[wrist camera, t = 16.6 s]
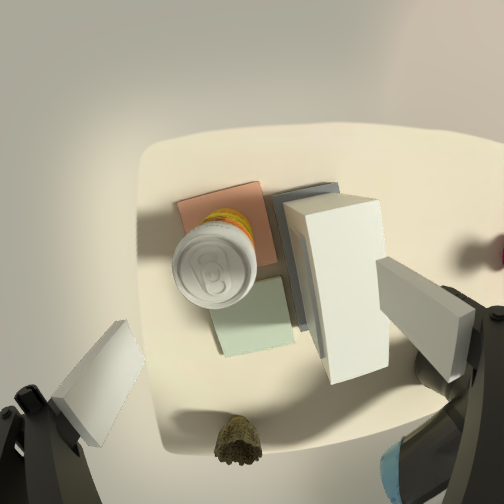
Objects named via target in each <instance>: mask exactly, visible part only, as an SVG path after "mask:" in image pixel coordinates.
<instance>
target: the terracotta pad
mask: <svg viewBox="0 0 504 504" xmlns="http://www.w3.org/2000/svg"><path fill="white" fill-rule="evenodd" d="M177 204H178V208H179V212H180V216H181V219H182V223H183V227H184V230H185V234H188V233H189V232H190V231H191V230H192V229H193V228H194V227H195V226H197V225H198V224H199V223H200V222H201V221H202V220H203V219H205V218H206V217H207V216H208V215H209V214H210V213H212V212H213V211H215V210H218V209H223V208H230V209H234V210H237V211H239V212H241V213H242V214H243V215H244V216H245V217H246V218H247V219H248V220H249V222H250V224H251V227H252V232H253V240H254V247H255V255H256V263H257V267H261V266H265V265H269V264H273V263H278V260H277V256H276V251H275V247H274V242H273V238H272V233H271V229H270V225H269V220H268V216H267V212H266V207H265V203H264V199H263V195H262V190H261V186H260V182H259V181H258V182H254V183H250V184H245V185H241V186H237V187H233V188H229V189H225V190H221V191H217V192H213V193H210V194H206V195H202V196H198V197H195V198H191V199H188V200H184V201H181V202H177Z"/></svg>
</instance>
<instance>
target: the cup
mask: <svg viewBox="0 0 504 504" xmlns="http://www.w3.org/2000/svg"><path fill="white" fill-rule="evenodd" d="M214 453H215V457H217V456H218V459H219V461H220V462H226V463H227V464H228V465H230V464H231V463H232V461H234V462H239V465H241V466H242V465H244V463H245V464H248V465H251V464H252V463H253V462H254V460H256V461H258V460H259V457H260V458H261V457H262V450H261V445H260V440H259V436H258V433H257V431H256V429H255V428H254V427H253V426H252V425H251V424H250V423H249V421H248V420H247V419H246V418H245V417H242V416H235V417H232V418H231V419H230V420H229V422H228V423H227V424H225V425H224V426H223V427H222V429H221V430H220V432H219V435H218V439H217V442H216V446H215V450H214Z"/></svg>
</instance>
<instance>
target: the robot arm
mask: <svg viewBox="0 0 504 504" xmlns="http://www.w3.org/2000/svg"><path fill="white" fill-rule="evenodd" d="M376 269H377V279H378V290H379V302H380V310H381V311H382V312H383V313H384V314H385V315H386V316H387V317H388V318H389V319H390V320H391V321H392V322H393V323H394V324H395V325H396V326H397V327H398V328H399V329H400V330H401V331H402V333H403V334H404V335H405V336H406V337H407V338H408V339H409V340H410V341H411V342H412V343H413V344H414V345H415V346H416V348H417V349H418V350H419V353H418V355H417V358H416V362H415V374H416V376H417V378H418V379H419V380H420V382H421V383H422V384H423V385H424V386H425V387H428V388H430V389H432V390H434V391H436V392H437V393H439V394H441V395H443V396H445V397H446V399H447V400H448V401H449V403H447V404H446V405H445V406H444V407H443V408H442V409H440V410H439V411H438V412H437V413H436V414H434V415H433V416H432V417H431V418H429V419H428V420H427V421H426V422H424V423H423V424H422V425H420V426H419V427H418V428H416V429H415V430H414V431H412V432H411V433H410V434H408V435H407V436H403V437H402V438H401V439H400V440H399V441H398V442H397V443H395V444H394V445H393V446H391V447H390V448H388V449H387V450H386V451H385V452H384V453H383V455H382V457H381V461H380V473H381V479H382V483H383V486H384V489H385V492H386V494H387V497H388V498H389V499H390V501H391V503H392V504H504V306H491V307H489V308H485V307H484V306H482V305H480V304H479V303H477V302H476V301H474V300H472V299H471V298H469V297H468V298H467V296H466V295H464V294H463V293H462V294H461V292H459V291H458V290H456V289H454V288H451V287H447V286H438V285H437V284H435V283H433V282H432V281H430V280H428V279H427V278H425V277H423V276H422V275H420V274H418V273H417V272H415V271H413V270H411V269H410V268H408V267H406V266H404V265H403V264H401V263H399V262H397V261H396V260H394V259H392V258H390V257H389V256H388V257H385V258H382V259H378V260H376ZM145 362H146V361H145V359H144V357H143V355H142V353H141V351H140V349H139V347H138V344H137V342H136V340H135V338H134V336H133V333H132V331H131V329H130V327H129V324H128V322H127V320H121V321H115V322H114V323H113V325H112V326H111V327H110V328H109V329H108V330H107V331H106V332H105V333H104V335H103V336H102V337H101V338H100V339H99V340H98V341H97V343H96V344H95V345H94V346H93V347H92V348H91V349H90V350H89V352H88V353H87V354H86V355H85V356H84V357H83V359H82V360H81V361H80V362H79V363H78V364H77V366H76V367H75V368H74V369H73V370H72V372H71V373H70V374H69V375H68V376H67V378H66V379H65V380H64V381H63V383H62V384H61V385H60V386H59V387H58V389H57V390H56V391H55V392H54V394H53V395H52V396H51V399H50V400H49V401H48V402H47V401H46V400H45V398H44V397H43V395H42V394H41V392H40V391H39V389H38V387H37V386H36V385H28V386H25V387H23V388H22V389H21V390H19V391H18V392H17V394H16V395H15V397H14V399H15V400H16V402H17V403H18V405H19V406H20V407H21V409H22V410H23V411H24V413H25V414H22V415H21V414H20V413H19V411H18V410H17V409H16V407H14V406H9V407H5V408H3V409H2V411H1V412H0V504H102V502H101V500H100V497H99V495H98V492H97V490H96V487H95V484H94V482H93V479H92V476H91V474H90V471H89V468H88V465H87V462H86V458H85V455H84V452H83V448H82V446H81V445H80V444H79V442H78V439H79V438H80V436H81V438H82V439H83V440H84V441H85V442H86V443H87V445H88V446H94V447H102V446H103V444H104V442H105V439H106V437H107V435H108V433H109V431H110V429H111V427H112V425H113V423H114V421H115V419H116V417H117V415H118V413H119V412H120V410H121V408H122V406H123V404H124V402H125V400H126V398H127V396H128V394H129V392H130V390H131V388H132V386H133V385H134V383H135V381H136V379H137V377H138V375H139V373H140V372H141V370H142V368H143V366H144V364H145ZM15 443H16V444H17V445H18V447H19V448H20V449H21V450H22V451H23V452H24V456H21V455H20V454H19V453H18V452H17V450H16V449H15Z"/></svg>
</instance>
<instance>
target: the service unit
mask: <svg viewBox="0 0 504 504" xmlns="http://www.w3.org/2000/svg"><path fill="white" fill-rule="evenodd" d="M271 198H272V202H273V206H274V211H275V215H276V220H277V224H278V228H279V233H280V238H281V242H282V247H283V251H284V256H285V261H286V265H287V270H288V275H289V280H290V285H291V290H292V295H293V300H294V305H295V310H296V315H297V320H298V325H299V329H300V332H303V331H307V330H309V331H310V334H311V336H312V339H313V341H314V344H315V346H316V349H317V351H318V354H319V356H320V359H321V360H322V363H323V365H324V368H325V370H326V373H327V375H328V378H329V381H330V383H331V385H333V384H336V383H340V382H343V381H346V380H349V379H353V378H356V377H359V376H362V375H365V374H368V373H371V372H374V371H376V370H379V369H382V368H385V367H387V366H388V362H389V318H388V317H387V316H386V315H385V314H384V313H383V312H382V311H381V310H380V302H379V290H378V279H377V269H376V260H378V259H382V258H385V257H386V250H385V240H384V231H383V223H382V216H381V209H380V202H379V199H373V198H367V197H360V196H354V195H347V194H340V191H339V186H338V182H333V183H328V184H323V185H318V186H313V187H309V188H304V189H299V190H294V191H290V192H285V193H281V194H276V195H272V196H271Z"/></svg>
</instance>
